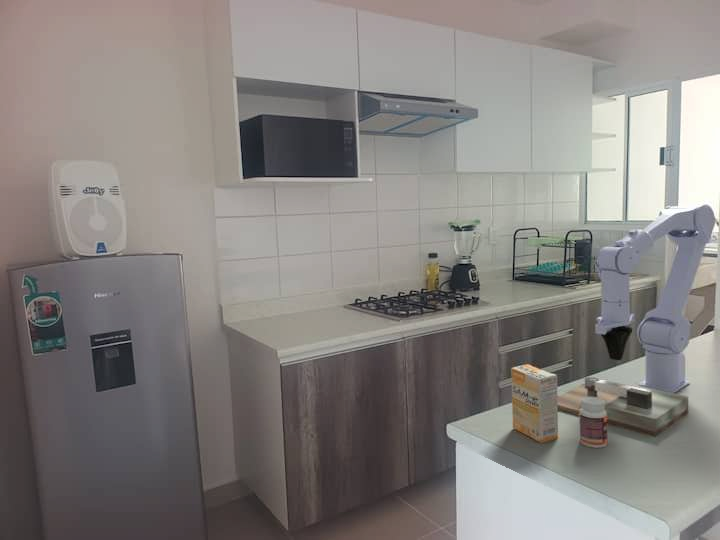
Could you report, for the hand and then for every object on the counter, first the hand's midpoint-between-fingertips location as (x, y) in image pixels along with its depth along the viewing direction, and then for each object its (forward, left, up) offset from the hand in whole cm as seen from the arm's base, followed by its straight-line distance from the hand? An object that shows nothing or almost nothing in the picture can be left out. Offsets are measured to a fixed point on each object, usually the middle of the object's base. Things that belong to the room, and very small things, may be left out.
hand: (616, 359), depth 116 cm
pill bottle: (+24, +7, -10) cm, 27 cm away
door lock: (+6, +3, -9) cm, 11 cm away
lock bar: (+7, +3, -5) cm, 9 cm away
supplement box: (+28, -3, -10) cm, 30 cm away
